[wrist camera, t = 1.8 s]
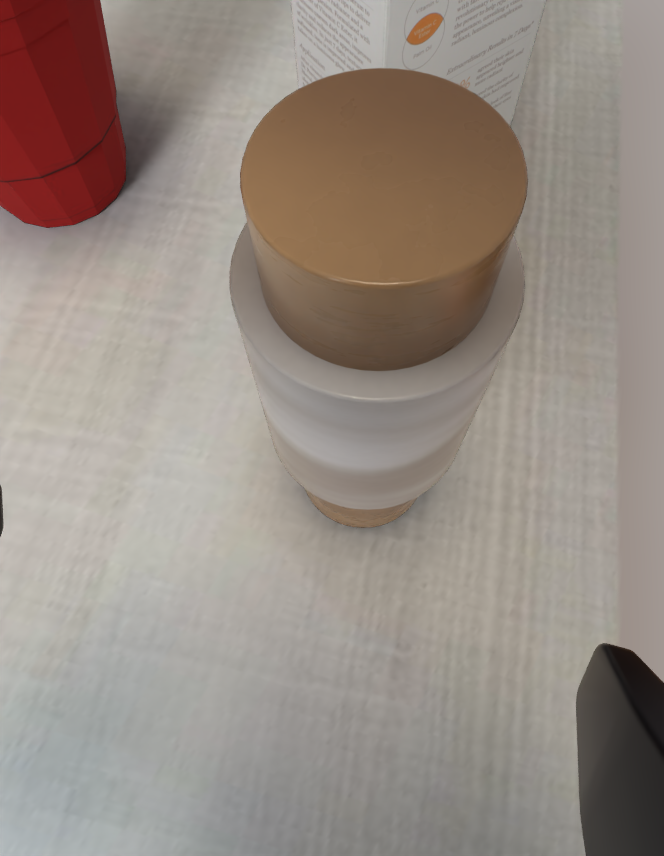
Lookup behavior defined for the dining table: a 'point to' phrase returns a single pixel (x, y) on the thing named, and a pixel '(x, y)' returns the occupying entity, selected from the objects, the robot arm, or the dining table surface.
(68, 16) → the plastic cup
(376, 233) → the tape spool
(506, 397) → the dining table surface
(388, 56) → the small box
